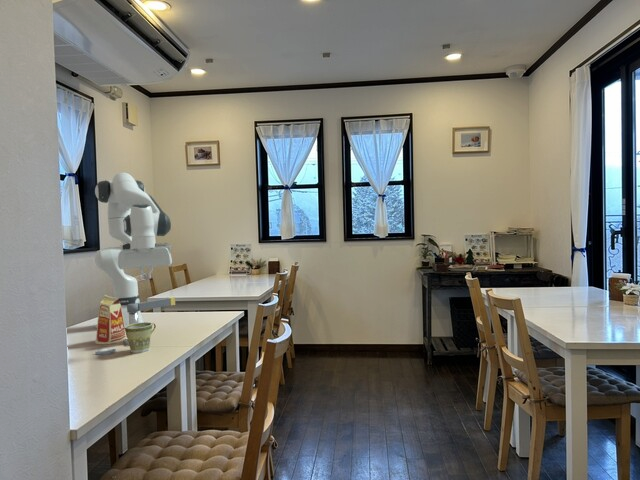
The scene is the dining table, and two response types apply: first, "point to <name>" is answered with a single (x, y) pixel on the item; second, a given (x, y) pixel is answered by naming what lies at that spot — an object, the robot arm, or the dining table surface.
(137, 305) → the swing arm
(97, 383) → the dining table surface
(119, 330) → the milk carton
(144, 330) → the ceramic cup
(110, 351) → the label plate
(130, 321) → the post
